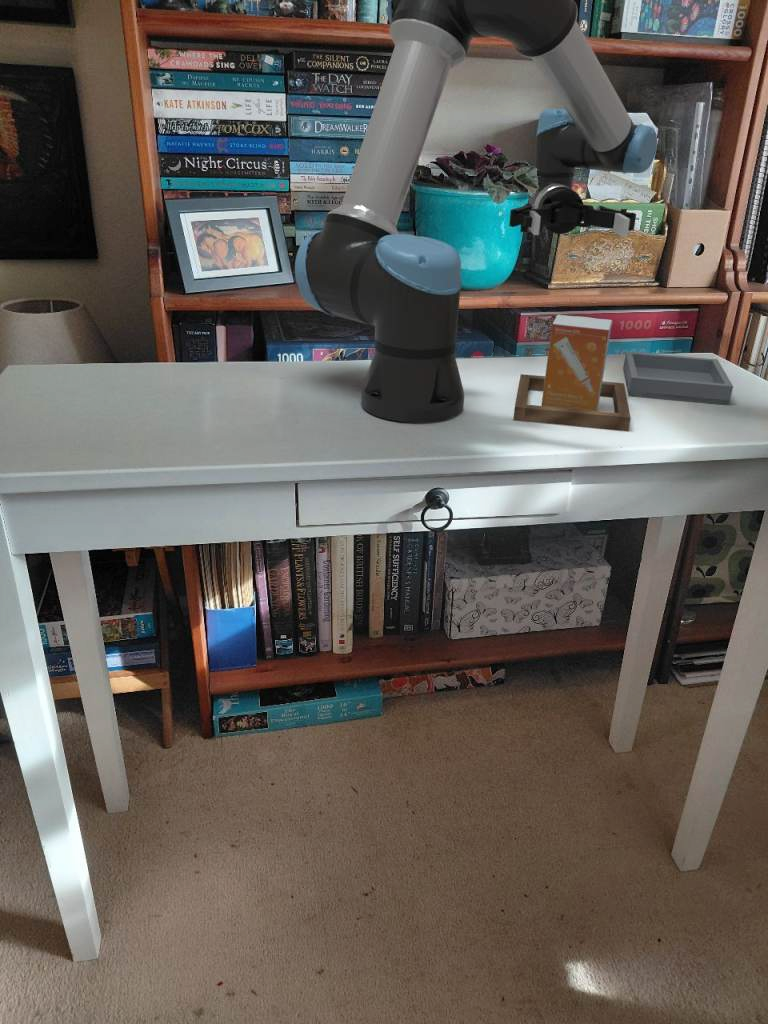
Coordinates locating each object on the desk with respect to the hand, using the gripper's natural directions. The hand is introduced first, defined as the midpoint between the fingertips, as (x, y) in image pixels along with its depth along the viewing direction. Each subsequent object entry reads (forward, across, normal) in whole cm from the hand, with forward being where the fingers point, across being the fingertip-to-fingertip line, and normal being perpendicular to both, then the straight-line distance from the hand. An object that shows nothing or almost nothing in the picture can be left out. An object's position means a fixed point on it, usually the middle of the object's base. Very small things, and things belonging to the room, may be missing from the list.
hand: (581, 227), depth 126 cm
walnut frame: (+16, +2, -24) cm, 28 cm away
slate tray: (+3, -17, -24) cm, 30 cm away
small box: (+16, +2, -24) cm, 28 cm away
